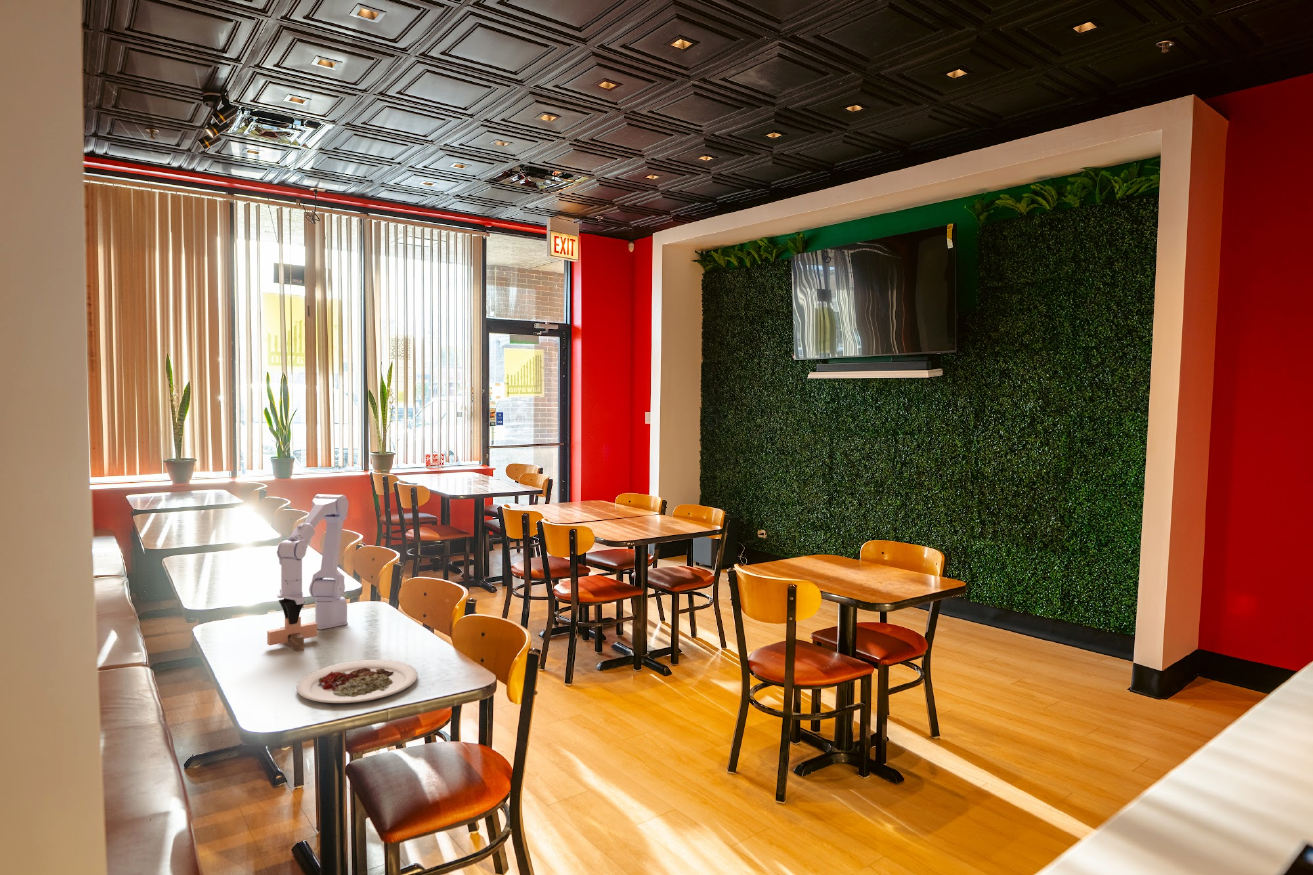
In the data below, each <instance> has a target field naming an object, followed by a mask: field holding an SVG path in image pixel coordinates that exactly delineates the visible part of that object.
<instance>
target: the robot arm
mask: <svg viewBox="0 0 1313 875" xmlns="http://www.w3.org/2000/svg"><path fill="white" fill-rule="evenodd" d="M348 511H349V500H348V498H347V496H346V495H345V494H321V493H317V494H316V495H315V496H313V499H312V501H311V510H310V512H309V513H308V515H307V516H306V518H305V521H304V522H301V523H299V524H298V525H297V526H296V527H295V529H294V530H293V531H292V532H291V534H290V535H289V537H288V538H287V539H286V540H285V539H284V540H283V541H281V542H280V543H279V545H278V546H277V550H276V555H277V557H278V560H279V565H280V566H281V567H280V569H281V570H280V571H281V572H280V574H281V575H280V576H281V579H280V580H281V582H280V583H281V584H280V585H281V586H280V587H281V589H279V594H276V597H277V599H279V600H278V603H279V604H280V606H281V609H282V611H283V614H284V615H283V616H284V619H285V618H288V620H289V624H290V625H291V624H296V623H297V622H298V618H299V616H300V615H301V610H302V609H303V607H304V605H305V597H304V594H303V558H305V556H306V553H307V549H308V544H309V542H310V541H311V540H312V539H313V537H314V536H315V533H316V530H315V528H316V527H317V526H318V524H319V523H320V522H322V520H324V521H325V522H326V528H325V534H324V541H323V542H324V543H323V549H322V550H323V551H322V557H321V565H320V569H319V570H317V571H316V572H315V573H313V575H312V579H311V582H310V584H309V588H308V592H309V595H310V597H311V598H313V601H315V602H314V604H315V606H314V607H315V609H314V610H315V617H314V620H315V621H314V622H315V623H317V630H325V629H330V628H334V627H340V626H344V625H345V626H346V625H348V624H349V622H348V602H347V600H346V598H345V597H344V596H343V595H344V593H345V590H346V586H345V576H344V575H343V573H341V572H340V571H339V570H338V566H339V559H340V558H339V556H340V550H341V549H340V548H341V543H342V535H343V528H344V521H345V520H347V518H348Z"/></svg>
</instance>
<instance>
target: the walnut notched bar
mask: <svg viewBox="0 0 1313 875" xmlns="http://www.w3.org/2000/svg"><path fill="white" fill-rule="evenodd" d="M281 628H285V626H282V627H280V628H279V629H281ZM284 644H285V645H287V646H288V647H290V648H291V649H293V650H294V651H296V652H300V651H304V650H305V639H304V637H303V636H302V635H300V634H298V633H294V634H290V635H288V642H285V643H284Z"/></svg>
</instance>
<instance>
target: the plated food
mask: <svg viewBox="0 0 1313 875" xmlns="http://www.w3.org/2000/svg"><path fill="white" fill-rule="evenodd" d="M417 679H418V671H417V668H415V666H412V665H411V664H408V663H406V662H403V661H402V662H401V661H398V660H397V661H396V660H391V659H361V660H354V661H353V660H352V661H345V662H341V663H335V664H332V665H328V666H324V667H322V668H320V669H317V670H314V671H312V672H310V673H308V674H306V675H304V676H303V677H302V678H301V679H300V680H299V681H297V682H298V683H297V685H296V692H297V693H298V694H299V696H301V697H302V698H304V699H306V700H311V701H313V702H319V703H329V704H348V703H349V704H350V703H361V702H366V701H373V700H377V699H381V698H384V697H385V698H386V697H388V696H391V695H395V694H396V693H397V694H398V693H399V692H402V691H404V690H405V689H407V688H409V687H410V686H411V685H413V684H414V682H416V680H417Z"/></svg>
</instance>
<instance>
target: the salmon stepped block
mask: <svg viewBox="0 0 1313 875" xmlns="http://www.w3.org/2000/svg"><path fill="white" fill-rule="evenodd" d="M284 627H285V628H282V627H280V628H281V629H280V628H276V629H271V630H267V632H266V634H267V637H266V638H267V641H266V642H267V643H266V644H267V645H268V646H274V645H280V644H285V642H288V635H290V634H294V633H298V634H300V635H302V636H303V637H304V640H305V639H309V638H314V637H318V628H317V623H315V621H314V622H308V623H303V624H302V616H300V615H299V618H298V622H297V623H296V624H291V625H290V624H289V620H288V618H285V617H284Z"/></svg>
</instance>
